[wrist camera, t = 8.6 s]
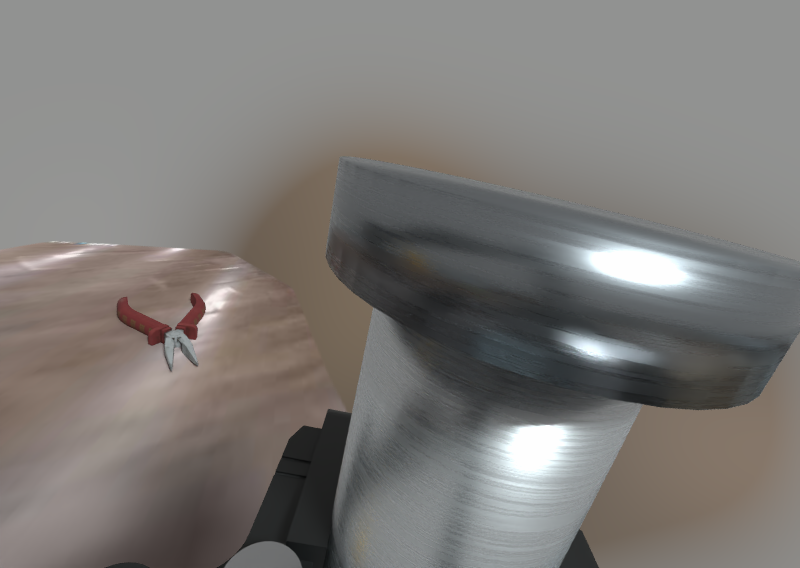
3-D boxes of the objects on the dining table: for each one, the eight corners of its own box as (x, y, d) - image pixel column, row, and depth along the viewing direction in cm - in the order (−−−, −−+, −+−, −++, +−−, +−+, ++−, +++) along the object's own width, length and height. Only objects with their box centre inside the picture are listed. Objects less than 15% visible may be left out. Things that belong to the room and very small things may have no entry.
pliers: (127, 385, 42) (127, 366, 42) (115, 310, 57) (115, 294, 56) (233, 366, 50) (234, 349, 49) (199, 303, 64) (200, 289, 63)
